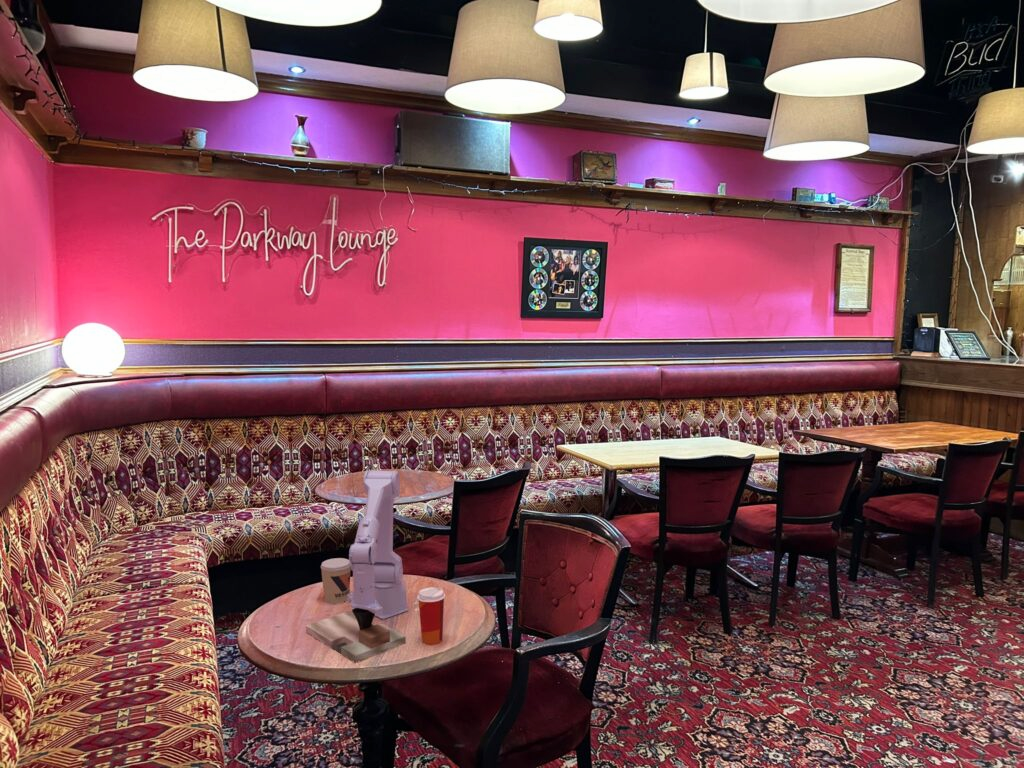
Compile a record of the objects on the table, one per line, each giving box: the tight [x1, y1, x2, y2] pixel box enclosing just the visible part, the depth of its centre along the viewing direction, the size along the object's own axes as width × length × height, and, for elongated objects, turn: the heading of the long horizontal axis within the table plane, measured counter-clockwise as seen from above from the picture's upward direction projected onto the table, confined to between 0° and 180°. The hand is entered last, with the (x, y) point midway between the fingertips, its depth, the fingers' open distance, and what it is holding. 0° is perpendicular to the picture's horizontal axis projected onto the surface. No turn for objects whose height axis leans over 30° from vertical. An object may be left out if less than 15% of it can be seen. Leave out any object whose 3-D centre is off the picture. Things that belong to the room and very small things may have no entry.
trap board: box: [305, 609, 407, 664], centre depth 203 cm, size 16×26×2 cm, turn 44°
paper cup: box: [417, 586, 446, 646], centre depth 200 cm, size 8×8×14 cm
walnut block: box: [358, 623, 390, 649], centre depth 196 cm, size 6×6×3 cm
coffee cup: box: [320, 557, 351, 605], centre depth 230 cm, size 9×9×12 cm
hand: (365, 633), depth 199 cm, fingers closed
